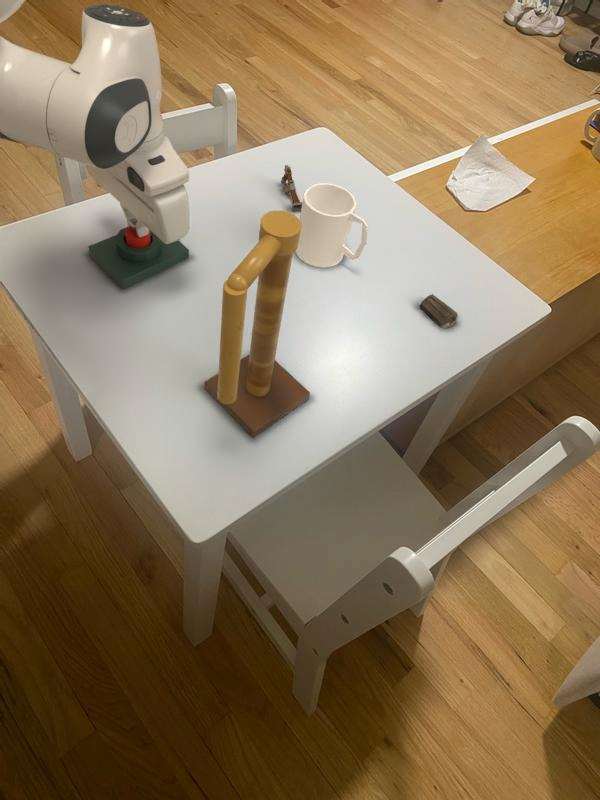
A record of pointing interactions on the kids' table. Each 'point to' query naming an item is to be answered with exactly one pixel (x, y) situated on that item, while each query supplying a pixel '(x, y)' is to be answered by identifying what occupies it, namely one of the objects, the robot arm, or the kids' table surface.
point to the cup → (328, 225)
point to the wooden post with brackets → (291, 188)
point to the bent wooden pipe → (274, 239)
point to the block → (439, 311)
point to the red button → (136, 239)
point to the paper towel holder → (264, 359)
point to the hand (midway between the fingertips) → (138, 231)
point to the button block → (136, 258)
